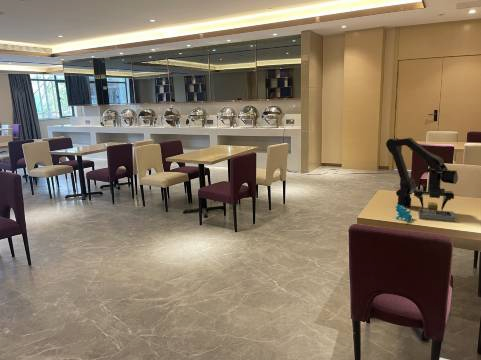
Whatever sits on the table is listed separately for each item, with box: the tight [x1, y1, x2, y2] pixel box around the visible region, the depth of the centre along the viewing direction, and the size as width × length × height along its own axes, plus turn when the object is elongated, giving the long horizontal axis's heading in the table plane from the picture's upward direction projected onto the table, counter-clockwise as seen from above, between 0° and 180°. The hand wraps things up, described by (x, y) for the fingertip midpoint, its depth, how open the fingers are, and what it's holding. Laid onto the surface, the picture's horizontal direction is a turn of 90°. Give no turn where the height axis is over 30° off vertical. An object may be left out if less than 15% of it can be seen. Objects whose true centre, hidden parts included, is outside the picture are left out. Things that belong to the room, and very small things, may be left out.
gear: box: [395, 205, 413, 223], centre depth 188 cm, size 11×6×10 cm
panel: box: [418, 208, 457, 223], centre depth 189 cm, size 16×9×3 cm, turn 68°
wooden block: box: [426, 201, 438, 210], centre depth 199 cm, size 4×4×5 cm
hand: (432, 209), depth 199 cm, fingers open, 9 cm apart
